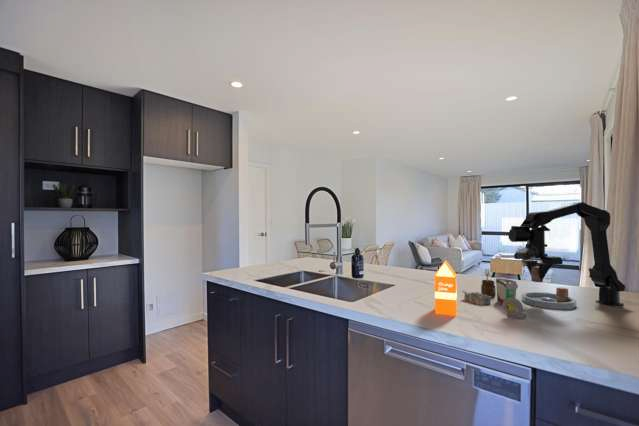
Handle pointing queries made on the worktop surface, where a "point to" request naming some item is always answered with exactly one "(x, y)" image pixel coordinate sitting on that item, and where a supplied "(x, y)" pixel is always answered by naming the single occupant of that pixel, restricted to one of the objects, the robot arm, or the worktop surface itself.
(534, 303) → the groove tray
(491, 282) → the utensil holder
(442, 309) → the orange juice
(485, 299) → the egg carton
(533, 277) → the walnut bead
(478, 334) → the worktop surface
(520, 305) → the pocket watch
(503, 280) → the food container
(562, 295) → the brown cork stopper
